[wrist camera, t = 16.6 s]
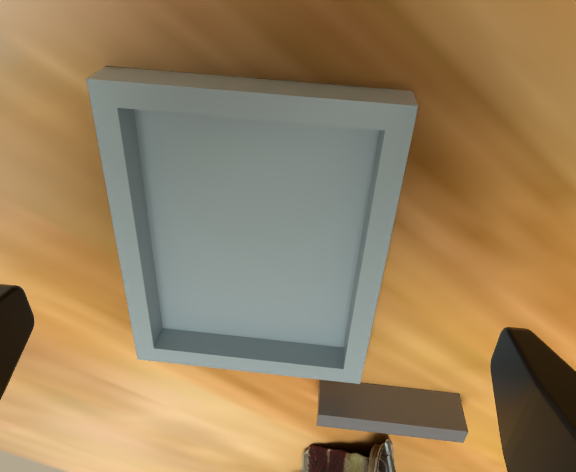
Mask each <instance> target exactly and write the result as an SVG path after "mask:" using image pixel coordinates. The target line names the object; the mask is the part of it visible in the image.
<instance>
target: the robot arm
mask: <svg viewBox="0 0 576 472" xmlns="http://www.w3.org/2000/svg"><path fill="white" fill-rule="evenodd" d="M33 326H34V316H33V313H32V310H31V308H30V305H29V303H28V300H27V297H26V295H25V292H24V290H23V289H22V288H21V287H19V286H16V285H4V284H1V285H0V399H1V397H2V395H3V393H4V391H5V389H6V387H7V385H8V383H9V381H10V378H11V376H12V374H13V372H14V370H15V367H16V365H17V363H18V361H19V359H20V356H21V354H22V352H23V350H24V348H25V345H26V343H27V341H28V339H29V337H30V334H31V332H32V330H33ZM491 376H492V383H493V390H494V397H495V404H496V411H497V418H498V424H499V431H500V438H501V444H502V450H503V455H504V459H505V463H506V467H507V471H508V472H576V371H575V370H574V369H572V368H571V367H570V366H569V365H568V364H567V363H566V362H565V361H564V360H563V359H562V358H560V357H559V356H558V355H557V354H556V353H555V352H554V351H553V350H552V349H551V348H549V347H548V346H547V345H546V344H545V343H544V342H543V341H542V340H541V339H540V338H538V337H537V336H536V335H535V334H534V333H533V332H532V331H530V330H528V329H525V328H513V327H507V328H504V329H503V330H502V332H501V334H500V337H499V339H498V342H497V345H496V347H495V350H494V353H493V356H492V359H491Z"/></svg>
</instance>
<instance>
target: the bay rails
mask: <svg viewBox="0 0 576 472" xmlns="http://www.w3.org/2000/svg"><path fill="white" fill-rule="evenodd" d="M317 426H324V427H333V428H341V429H350V430H358V431H367V432H376V433H384V434H393V435H401V436H410V437H419V438H427V439H436V440H444V441H453V442H462V443H463V442H464V440H465V438H466V436H467V433H468V429H467V425H466V421H465V416H464V412H463V408H462V404H461V400H460V396H459V394H458V393H449V392H440V391H431V390H422V389H413V388H404V387H395V386H386V385H377V384H368V383H360V384H355V383H346V382H337V381H328V380H320V384H319V394H318V413H317Z"/></svg>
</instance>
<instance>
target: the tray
mask: <svg viewBox="0 0 576 472" xmlns="http://www.w3.org/2000/svg"><path fill="white" fill-rule="evenodd" d="M86 80H87V85H88V91H89V96H90V102H91V107H92V113H93V118H94V124H95V129H96V135H97V140H98V146H99V151H100V156H101V162H102V167H103V173H104V178H105V184H106V189H107V195H108V200H109V206H110V211H111V217H112V222H113V228H114V233H115V239H116V244H117V250H118V255H119V260H120V266H121V271H122V277H123V282H124V288H125V293H126V299H127V304H128V310H129V315H130V321H131V326H132V332H133V337H134V343H135V348H136V353H137V359H140V360H149V361H158V362H167V363H176V364H185V365H194V366H203V367H212V368H221V369H230V370H239V371H247V372H256V373H265V374H274V375H283V376H292V377H301V378H310V379H319V380H328V381H337V382H346V383H355V384H360V382H361V378H362V373H363V368H364V363H365V358H366V354H367V349H368V344H369V339H370V335H371V330H372V325H373V320H374V315H375V311H376V306H377V301H378V296H379V292H380V287H381V282H382V277H383V272H384V268H385V263H386V258H387V253H388V249H389V244H390V239H391V234H392V230H393V225H394V220H395V215H396V210H397V206H398V201H399V196H400V191H401V187H402V182H403V177H404V172H405V167H406V163H407V158H408V153H409V148H410V144H411V139H412V134H413V129H414V124H415V120H416V115H417V110H418V104H417V101H416V99H415V96H414V94H413V91H409V90H397V89H384V88H372V87H360V86H347V85H335V84H322V83H310V82H298V81H285V80H273V79H261V78H248V77H236V76H223V75H211V74H199V73H186V72H174V71H161V70H149V69H137V68H124V67H112V66H105V67H104V68H102V69H101V70H99V71H98V72H96V73H94V74H93V75H91V76H90V77H88V78H87V79H86Z"/></svg>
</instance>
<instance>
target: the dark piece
mask: <svg viewBox="0 0 576 472" xmlns="http://www.w3.org/2000/svg"><path fill="white" fill-rule="evenodd" d="M394 468H395V467H394V459H393V451H392V444H391V442H389V440H386V442H385V443H383V444H380V445H378V444H376V445H374V446H373V447H372V449H371V451H370V457H369V458H367V457H365V456H362V455H360V454H358V453H347V452H346V451H344V450H333V449H329V448H323V447H321V446H315V445H310V446H309V448H308V450H306V451H305V452H304V453H303V467H302V472H395V469H394Z"/></svg>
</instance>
